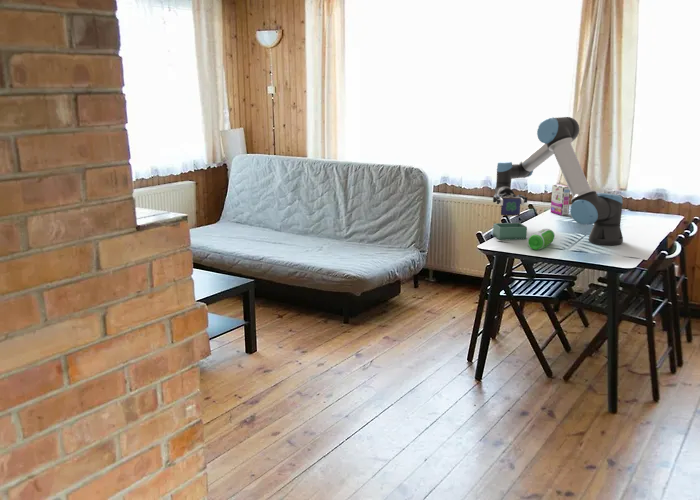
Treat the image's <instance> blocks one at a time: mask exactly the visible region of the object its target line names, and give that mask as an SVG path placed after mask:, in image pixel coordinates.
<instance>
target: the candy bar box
mask: <svg viewBox="0 0 700 500" xmlns="http://www.w3.org/2000/svg"><path fill="white" fill-rule="evenodd" d="M570 197H571V192H570V189H569V187H568V185H563V184H559V183H558V184H552V189H551V199H550V200H551V201H550V202H551V203H550V205H551V206H550V213H552V214H555V215H559V216H569V211H570V202H571V200H570Z"/></svg>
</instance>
